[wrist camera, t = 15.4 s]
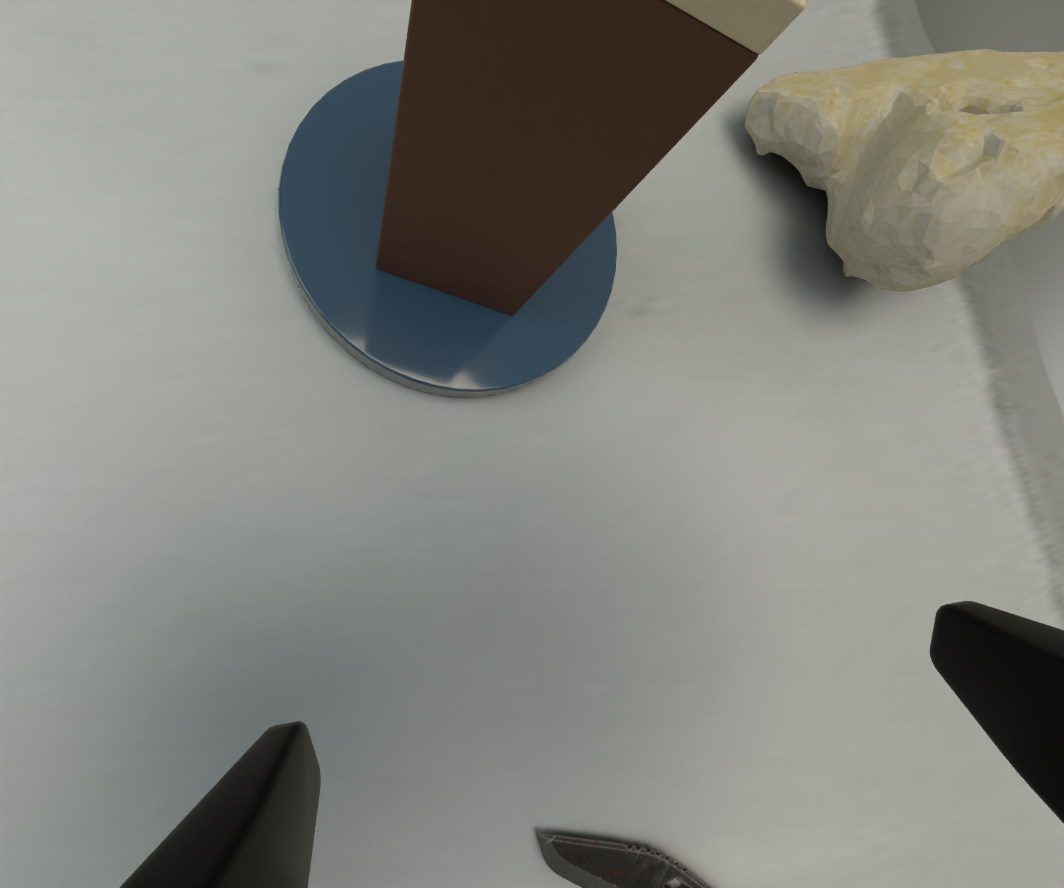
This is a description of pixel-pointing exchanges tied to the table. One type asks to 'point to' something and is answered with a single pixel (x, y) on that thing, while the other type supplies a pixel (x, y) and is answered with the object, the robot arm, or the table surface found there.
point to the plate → (401, 304)
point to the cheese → (922, 156)
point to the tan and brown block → (545, 126)
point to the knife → (611, 864)
